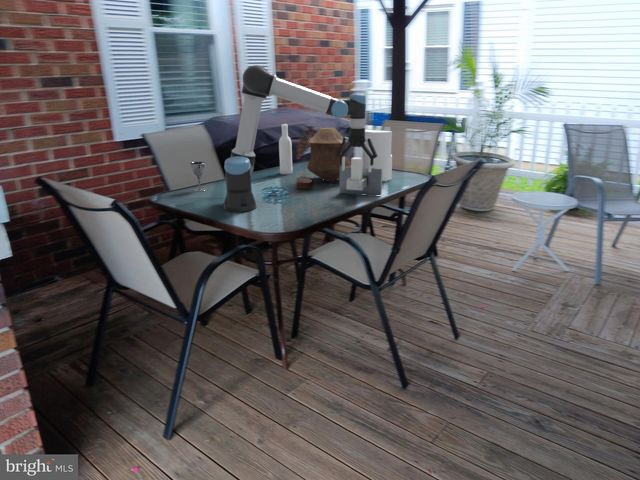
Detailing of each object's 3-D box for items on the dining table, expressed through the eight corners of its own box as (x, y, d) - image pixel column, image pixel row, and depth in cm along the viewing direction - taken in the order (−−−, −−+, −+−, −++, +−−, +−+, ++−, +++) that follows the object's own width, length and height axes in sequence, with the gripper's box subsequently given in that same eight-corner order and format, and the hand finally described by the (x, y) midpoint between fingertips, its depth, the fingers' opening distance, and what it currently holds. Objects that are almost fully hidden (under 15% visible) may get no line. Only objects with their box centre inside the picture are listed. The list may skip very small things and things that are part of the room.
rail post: (359, 187, 240) (360, 159, 235) (350, 186, 241) (351, 158, 237) (362, 185, 244) (362, 157, 239) (353, 184, 245) (353, 157, 240)
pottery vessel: (336, 186, 268) (336, 131, 257) (298, 181, 281) (297, 129, 271) (358, 177, 288) (359, 126, 278) (322, 173, 301) (322, 124, 291)
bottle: (277, 173, 304) (275, 124, 294) (286, 171, 309) (284, 123, 299) (286, 175, 298) (284, 125, 288) (295, 173, 304) (293, 124, 294)
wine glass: (210, 189, 264) (207, 162, 259) (198, 192, 259) (195, 164, 254) (202, 187, 270) (199, 160, 264) (189, 190, 264) (186, 163, 259)
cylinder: (384, 183, 274) (385, 133, 265) (356, 180, 283) (357, 131, 273) (396, 177, 288) (398, 129, 279) (370, 174, 297) (371, 128, 287)
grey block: (375, 201, 237) (376, 173, 233) (333, 197, 245) (333, 170, 240) (381, 195, 248) (382, 168, 243) (340, 192, 255) (340, 166, 250)
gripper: (384, 127, 232) (382, 171, 239) (335, 125, 240) (335, 168, 247) (380, 129, 225) (379, 174, 232) (330, 127, 234) (330, 170, 241)
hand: (356, 171), depth 240 cm, fingers open, 13 cm apart
